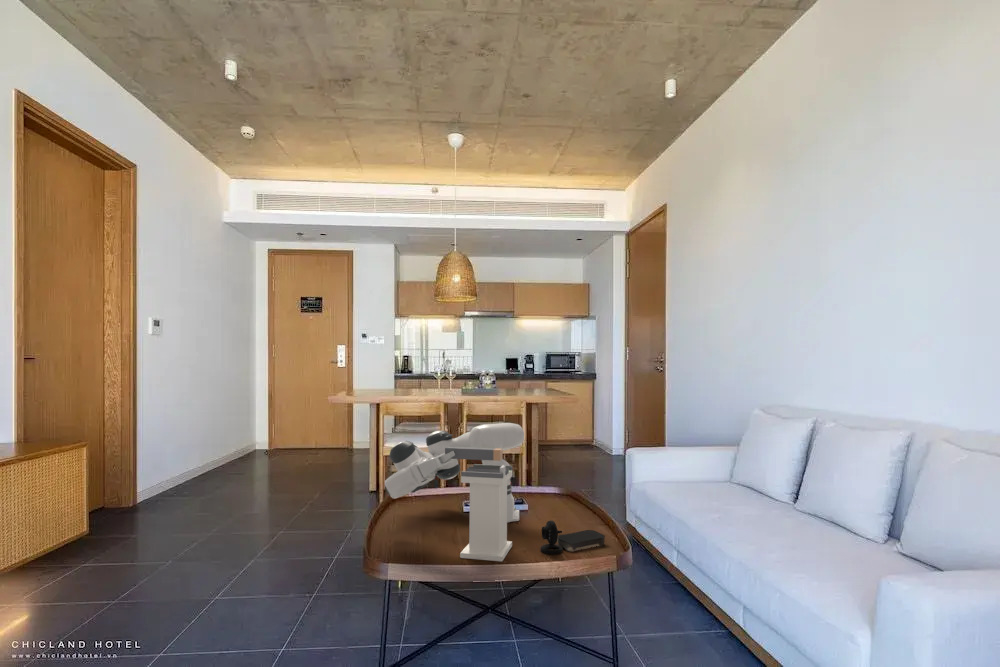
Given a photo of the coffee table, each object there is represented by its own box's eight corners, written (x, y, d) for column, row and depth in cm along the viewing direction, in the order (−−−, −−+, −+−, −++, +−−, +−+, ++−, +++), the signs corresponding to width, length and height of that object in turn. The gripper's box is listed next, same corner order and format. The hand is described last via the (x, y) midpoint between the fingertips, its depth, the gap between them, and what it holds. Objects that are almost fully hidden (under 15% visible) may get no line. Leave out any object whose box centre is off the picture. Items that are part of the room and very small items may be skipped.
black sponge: (592, 539, 191) (591, 529, 191) (607, 546, 183) (607, 535, 184) (554, 546, 183) (554, 535, 183) (569, 553, 176) (568, 542, 176)
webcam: (537, 548, 180) (537, 518, 181) (558, 546, 182) (557, 517, 183) (544, 555, 172) (544, 524, 173) (566, 554, 174) (565, 523, 175)
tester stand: (473, 542, 185) (474, 459, 187) (512, 545, 182) (512, 460, 184) (460, 557, 170) (461, 466, 172) (502, 561, 167) (502, 468, 169)
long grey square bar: (448, 456, 188) (448, 446, 188) (502, 459, 183) (502, 448, 183) (444, 458, 184) (445, 448, 184) (500, 460, 180) (500, 450, 180)
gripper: (438, 472, 197) (469, 455, 195) (418, 483, 177) (452, 464, 175) (430, 457, 198) (461, 440, 196) (409, 466, 178) (443, 447, 176)
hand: (456, 451), depth 185 cm, fingers closed on long grey square bar, 4 cm apart
